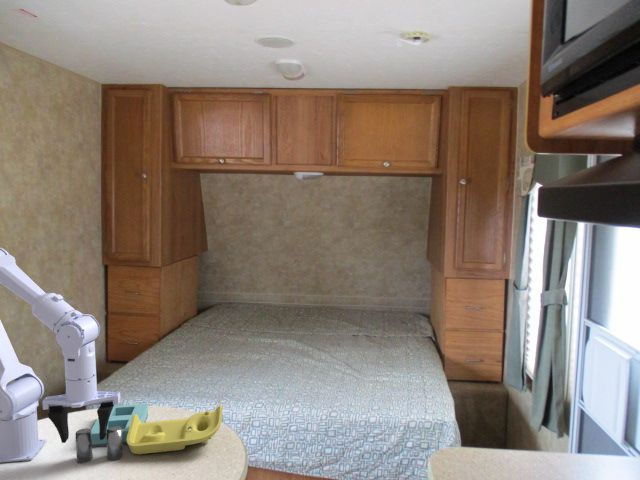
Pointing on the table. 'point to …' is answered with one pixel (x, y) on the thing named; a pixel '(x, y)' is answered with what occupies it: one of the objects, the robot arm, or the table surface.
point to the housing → (120, 421)
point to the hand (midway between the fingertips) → (84, 438)
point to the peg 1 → (84, 445)
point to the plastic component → (172, 432)
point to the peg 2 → (114, 443)
